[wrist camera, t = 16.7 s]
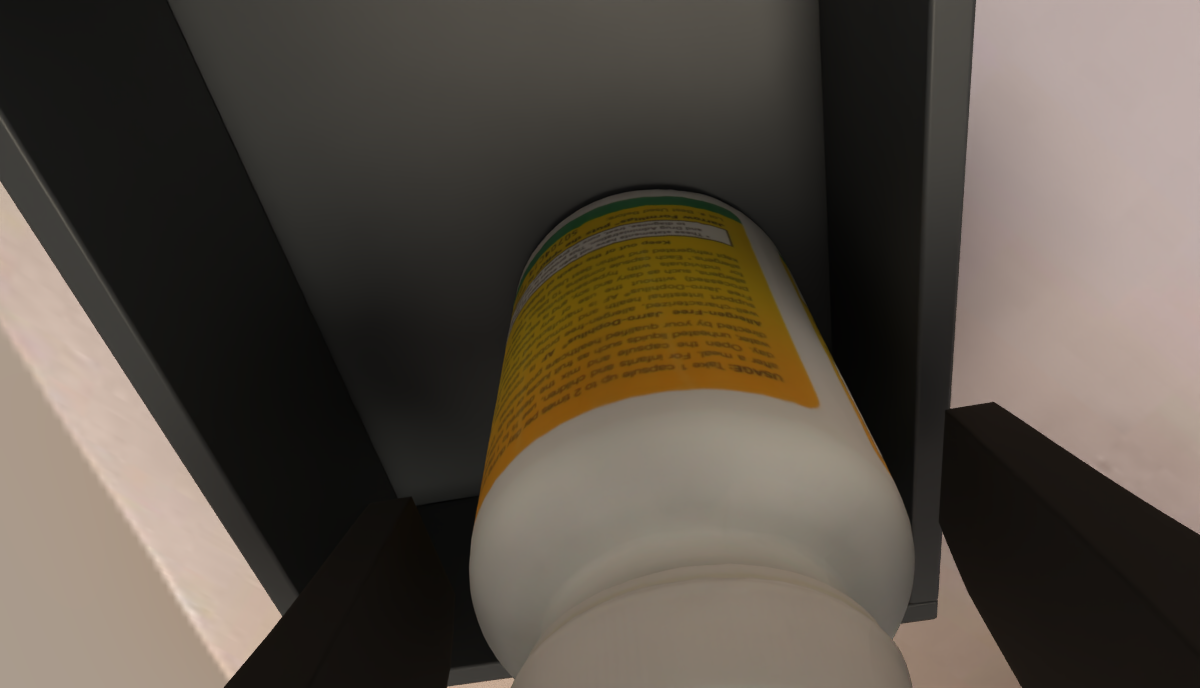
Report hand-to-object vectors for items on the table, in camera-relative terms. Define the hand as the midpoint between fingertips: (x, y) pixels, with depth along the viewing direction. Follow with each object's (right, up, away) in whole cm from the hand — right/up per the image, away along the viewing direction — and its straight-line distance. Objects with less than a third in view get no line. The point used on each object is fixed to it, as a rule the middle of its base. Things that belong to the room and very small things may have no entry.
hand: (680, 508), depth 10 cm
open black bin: (-2, +5, +4) cm, 6 cm away
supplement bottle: (0, +3, +5) cm, 6 cm away
